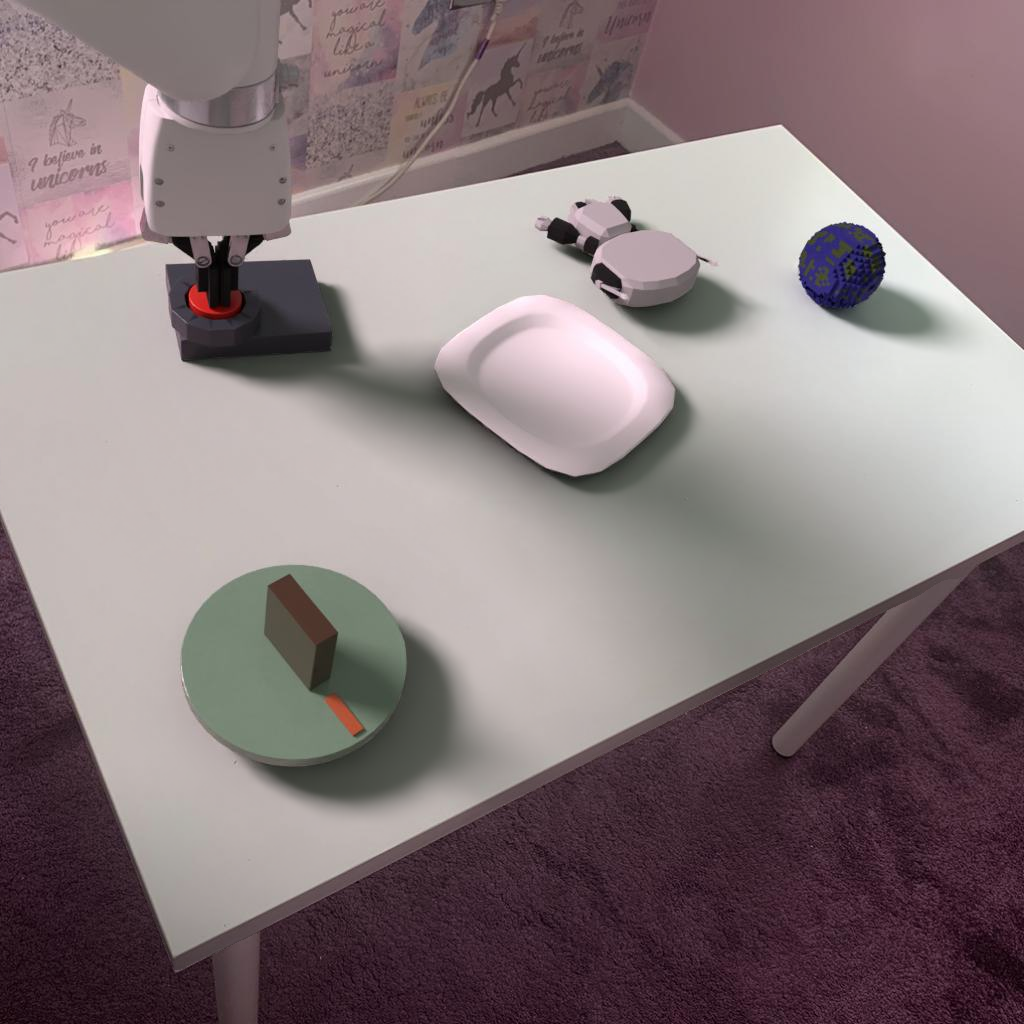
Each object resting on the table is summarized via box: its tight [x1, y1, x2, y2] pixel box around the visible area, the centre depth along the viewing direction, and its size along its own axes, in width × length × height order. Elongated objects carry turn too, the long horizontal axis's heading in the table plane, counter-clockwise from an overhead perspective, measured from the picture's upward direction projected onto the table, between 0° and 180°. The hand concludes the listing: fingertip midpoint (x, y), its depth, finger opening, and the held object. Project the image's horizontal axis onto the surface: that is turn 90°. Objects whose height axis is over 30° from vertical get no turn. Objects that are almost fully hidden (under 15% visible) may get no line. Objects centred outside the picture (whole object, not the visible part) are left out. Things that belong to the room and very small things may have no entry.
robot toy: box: [533, 195, 719, 308], centre depth 102 cm, size 12×4×15 cm
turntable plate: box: [180, 564, 408, 767], centre depth 65 cm, size 14×14×7 cm
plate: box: [433, 294, 676, 478], centre depth 90 cm, size 18×18×2 cm
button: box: [189, 284, 242, 320], centre depth 83 cm, size 4×4×2 cm
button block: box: [164, 258, 334, 361], centre depth 86 cm, size 12×10×4 cm
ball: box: [797, 221, 887, 310], centre depth 106 cm, size 8×8×8 cm
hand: (216, 295), depth 83 cm, fingers closed
